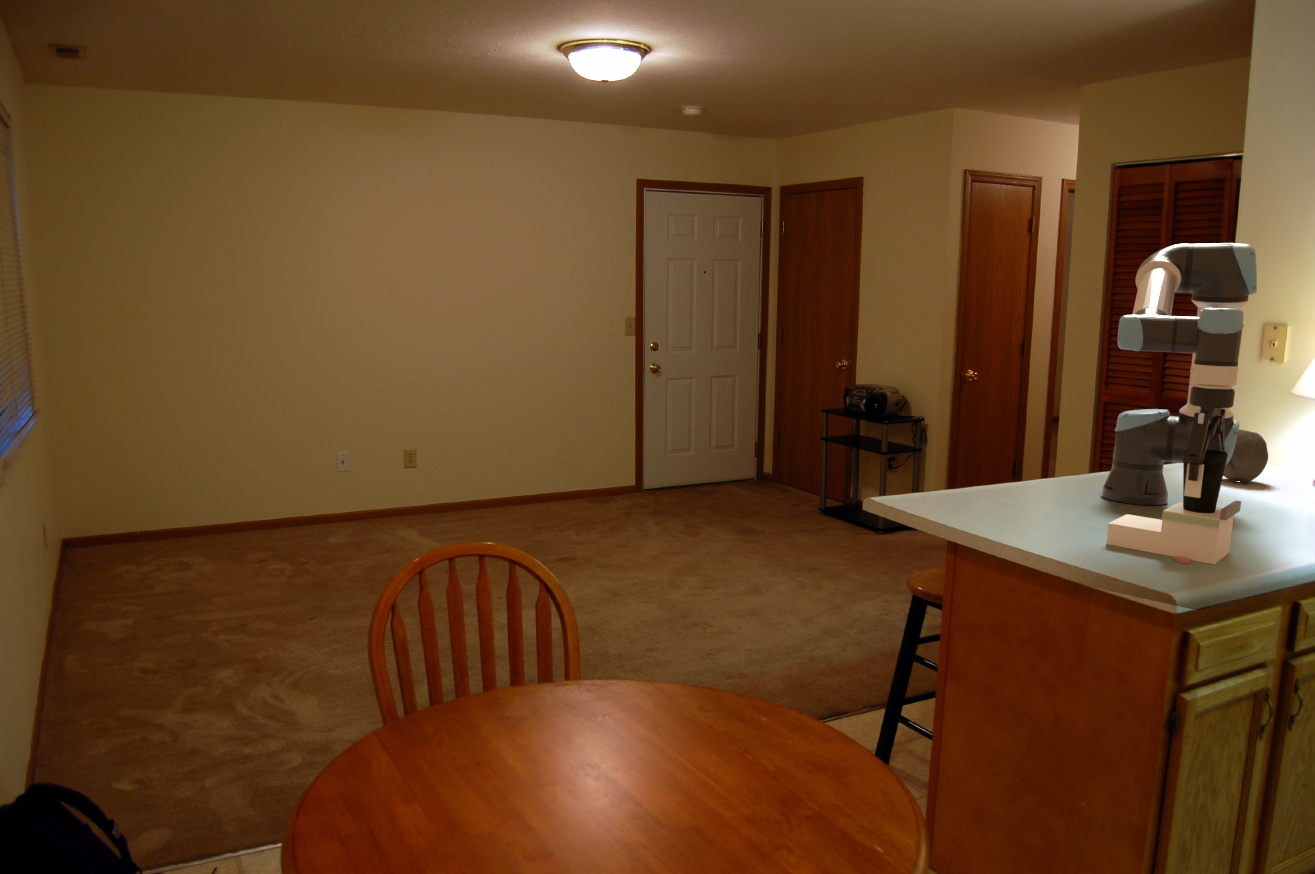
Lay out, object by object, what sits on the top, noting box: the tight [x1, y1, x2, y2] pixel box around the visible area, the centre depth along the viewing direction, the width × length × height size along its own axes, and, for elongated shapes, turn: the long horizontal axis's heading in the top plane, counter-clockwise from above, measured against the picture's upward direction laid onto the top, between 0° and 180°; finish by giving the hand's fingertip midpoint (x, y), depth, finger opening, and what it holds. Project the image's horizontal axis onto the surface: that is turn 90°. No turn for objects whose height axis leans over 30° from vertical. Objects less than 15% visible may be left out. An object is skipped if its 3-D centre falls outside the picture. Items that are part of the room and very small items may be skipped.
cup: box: [1182, 449, 1228, 513], centre depth 186 cm, size 8×8×12 cm
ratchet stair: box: [1106, 499, 1242, 565], centre depth 189 cm, size 16×21×11 cm
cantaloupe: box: [1223, 428, 1269, 483], centre depth 265 cm, size 14×14×15 cm
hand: (1201, 491), depth 186 cm, fingers open, 13 cm apart
